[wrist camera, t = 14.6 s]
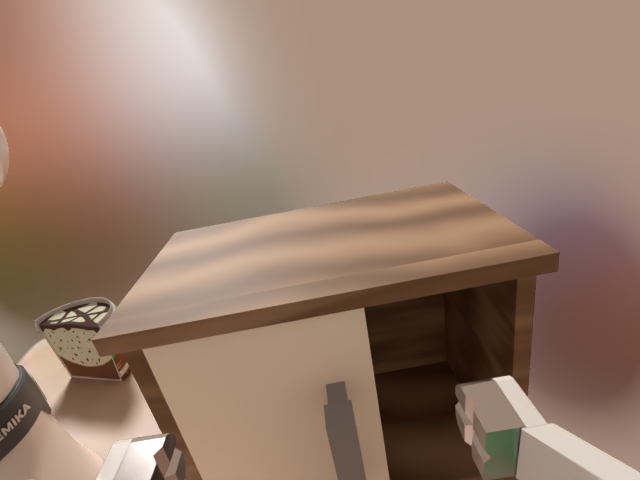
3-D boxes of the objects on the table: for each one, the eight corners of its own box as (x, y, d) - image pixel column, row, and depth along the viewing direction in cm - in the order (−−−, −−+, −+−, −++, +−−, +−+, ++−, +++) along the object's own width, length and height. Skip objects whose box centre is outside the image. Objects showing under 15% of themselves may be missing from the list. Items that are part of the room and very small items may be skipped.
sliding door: (408, 567, 25) (378, 351, 18) (221, 602, 25) (112, 401, 18) (390, 495, 30) (360, 297, 22) (232, 525, 30) (148, 337, 22)
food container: (159, 351, 55) (135, 294, 51) (131, 382, 50) (101, 322, 46) (96, 347, 59) (69, 295, 55) (63, 376, 54) (30, 320, 50)
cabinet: (534, 501, 29) (559, 252, 20) (208, 562, 29) (91, 340, 20) (453, 361, 43) (447, 181, 34) (236, 402, 43) (175, 232, 35)
